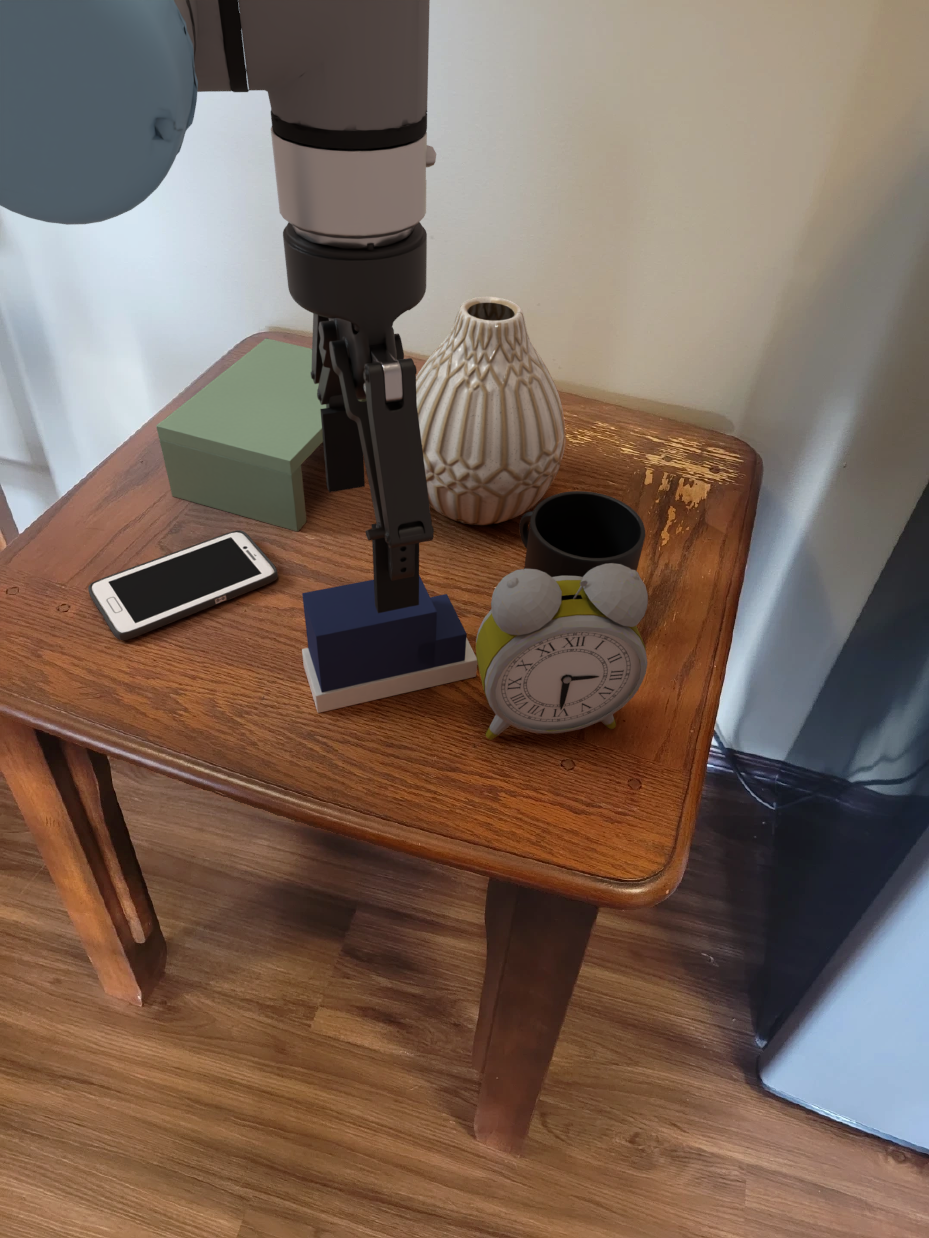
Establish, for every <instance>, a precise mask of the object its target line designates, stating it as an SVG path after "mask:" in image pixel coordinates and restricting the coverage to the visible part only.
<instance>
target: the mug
mask: <svg viewBox="0 0 929 1238" xmlns="http://www.w3.org/2000/svg"><path fill="white" fill-rule="evenodd" d="M518 526H519V527H518V528H519V536H520V539H521V542H522V544H523V546H524V548H525V549H526V550H525V551H526V552H525V559H524V560H525V561H524V567H523V569H537V570H540V571H542V572H545V573H547V574H548V575H549V576H551V577H556V576H579V577H583V576H584V575H585V574H586V573H587V572H588V571H589V570H591V569H593V568H595V567H597V566H600V565H603V564H609V563H614V564H621V565H624V566H626V567H628V568H630V569H631V570H636V571H637V572H638V567H639V563H640V561H641V555H642V551H643V547H644V543H645V539H646V528H645V524H644V522H643V520H642V518H641V517H640V515H639V514H638V513H637V512H636V511H635V510H634V509H633V508H632V507H631V506H629V505H628V504H627V503H626V502H623V501H621V500H619V499H617V498H615V497H613V496H611V495H607V494H604V493H599V492H594V491H587V490H585V491H584V490H573V491H563V492H559V493H556V494H553V495H550V496H548V497H546V498H545V499H544V498H543V500H541V501H539V503H537V505H536V506H535V508H534V509H533V510H531V511H526V512H524V513H523V515H522V516H521V517H520V521H519V525H518Z"/></svg>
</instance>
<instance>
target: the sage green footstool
mask: <svg viewBox="0 0 929 1238" xmlns="http://www.w3.org/2000/svg"><path fill="white" fill-rule="evenodd" d="M311 368H312V347H311V348H310V347H306V346H302V345H299V344H293V343H288V342H284V341H280V340H276V339H272V338H271V339H270V338H264V339H263V340H262V341H260V342H259V343H258V344H257V345H255V346H254V347H253V348H252V349H251V350H249V351H248V352H246V354H244V355H243V356H242V357H240V358H239V359H238V360H237V361H236V362H234V363H233V364H232V365H230V366H229V367H228V368H226V369H225V370H224V371H223V372H222V373H220V374H219V375H218V376H217V377H216V378H214V379H213V380H212V381H210V382H209V383H208V384H206V386H204V387H203V388H201V389H200V390H199V391H198V392H196V393H195V394H194V395H193V396H192V397H190V398H189V399H188V400H186V401H185V402H184V403H182V405H180V406H179V407H178V408H177V409H175V410H174V411H172V412H171V413H170V414H169V415H167V417H165V418H164V419H163V420H161V421H160V422H158V423H157V424H156V426H155V427H156V431H157V432H156V433H157V437H158V439H159V444H160V448H161V453H162V459H163V462H164V466H165V470H166V475H167V480H168V483H169V488H170V493H171V496H172V497H174V498H177V499H181V500H183V501H188V502H191V503H195V504H199V505H202V506H205V507H209V508H213V509H216V510H220V511H224V512H227V513H229V514H233V515H237V516H241V517H244V518H248V519H251V520H255V521H259V522H262V523H266V524H269V525H273V526H277V527H280V528H282V529H283V528H284V529H286V530H289V531H290V530H291V531H294V532H299V531H300V530H301V529H302V527H303V526H304V525H305V524H306V523H307V512H306V502H305V501H306V500H305V491H304V482H303V472H302V471H303V470H302V464H303V463H304V462H305V461H306V460H307V459H308V458H309V457H310V456H311V455H312V454H313V453H314V451H316V450H317V449H318V447H319V446H321V444H323V434H322V422H321V410H320V409H324V408H326V404H324V405H321V403H320V401H319V400H318V398H317V393H318V392H317V389H318V386H319V383H318V384H314V381H313V379H311V372H312V369H311ZM359 401H361V402H365V401H367V399H361V400H359Z"/></svg>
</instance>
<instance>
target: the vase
mask: <svg viewBox="0 0 929 1238" xmlns="http://www.w3.org/2000/svg"><path fill="white" fill-rule="evenodd" d="M417 372H418V373H417V374H416V397H417V411H418V419H419V426H420V434H421V442H422V450H423V458H424V466H425V474H426V482H427V489H428V497H429V505H430V508H432V509H433V510H434V511H435V512H437V513H439V514H440V515H442V516H444V517H446V518H448V519H451V520H453V521H454V522H458V523H461V524H466V525H471V526H490V525H496V524H499V523H500V524H501V523H503V522H506V521H509V520H512V519H515V518H517V517H519V516H521V515H522V514H525V513H527V512H528V511H529V510H530V509H532V508H533V507H534V506H535V505H536V504H538V502H540V500H541V499H542V498H543V497H544V496H545V494H546V493H547V492H548V491H549V489H550V488H551V486H552V484H553V482H554V481H555V479H556V477H557V475H558V473H559V469H560V468H561V465H562V461H563V458H564V453H565V449H566V436H567V435H566V434H567V433H566V432H567V431H566V422H565V415H564V409H563V405H562V399H561V398H560V394H559V391H558V389H557V385H556V383H555V380H554V379H553V377H552V375H551V373H550V371H549V369H548V367H547V366H546V364H545V362H544V360H543V359H542V357H541V355H540V354H539V352H538V351H537V349H536V348H535V347H534V344H533V343H532V341H531V340H530V336H529V333H528V328H527V324H526V320H525V315H524V311H523V308H522V307H521V306H520V305H519V304H517V303H516V302H514V301H512V300H510V299H507V298H503V297H499V296H491V295H490V296H489V295H487V296H486V295H485V296H476V297H473V298H469V299H467V300H465V301H464V302H462V303H461V304H460V306H459V308H458V310H457V313H456V316H455V319H454V321H453V324H452V326H451V328H450V331H449V332H448V334H447V335H446V337H445V338H444V340H443V341H442V342H441V343H440V344H439V345H438V346H437V347H436V349H434V351H433V352H432V353H431V354H430V356H429V357H428V358H427V360H426V361H425V362H424V363H423V365H422V366H421V368H420V369H419V371H417Z"/></svg>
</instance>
